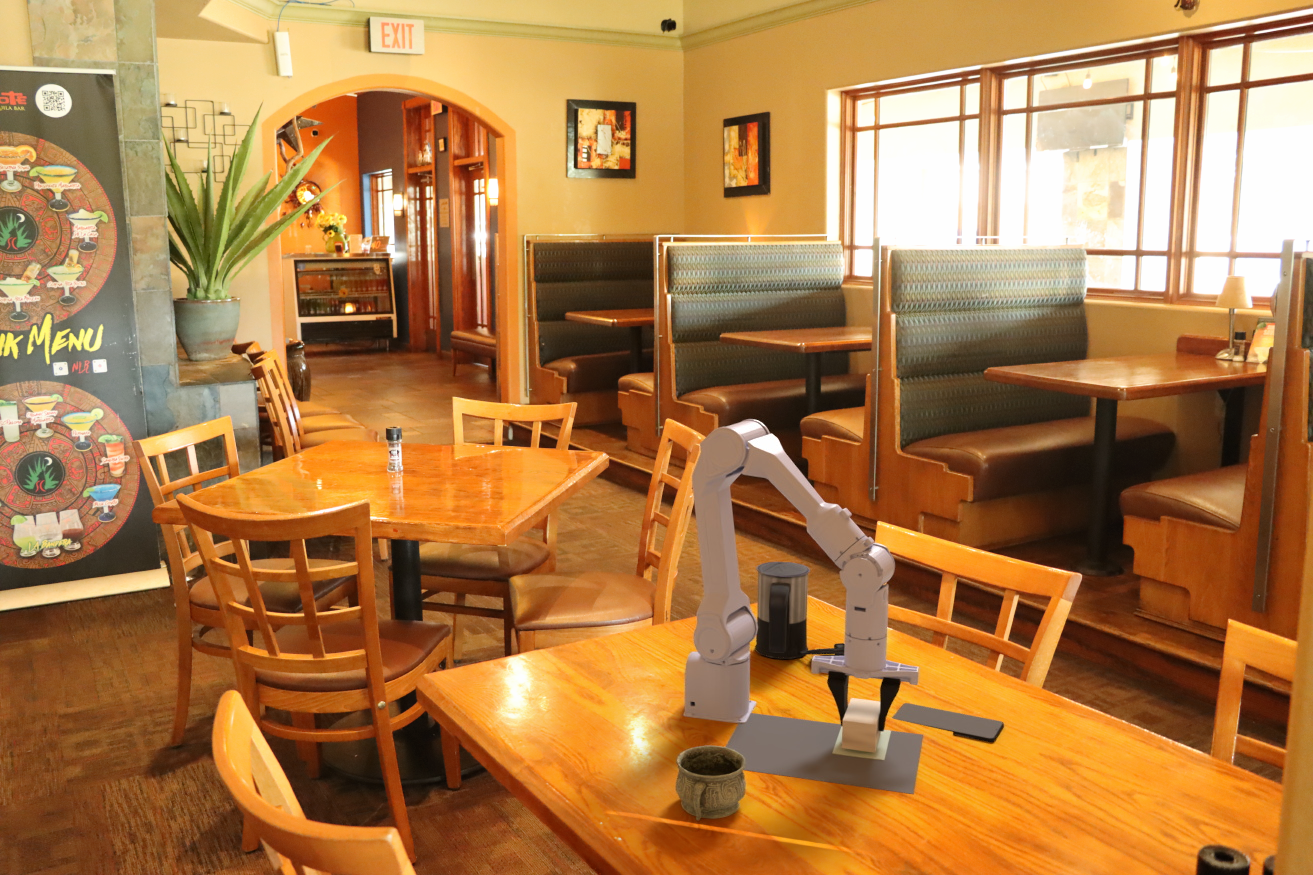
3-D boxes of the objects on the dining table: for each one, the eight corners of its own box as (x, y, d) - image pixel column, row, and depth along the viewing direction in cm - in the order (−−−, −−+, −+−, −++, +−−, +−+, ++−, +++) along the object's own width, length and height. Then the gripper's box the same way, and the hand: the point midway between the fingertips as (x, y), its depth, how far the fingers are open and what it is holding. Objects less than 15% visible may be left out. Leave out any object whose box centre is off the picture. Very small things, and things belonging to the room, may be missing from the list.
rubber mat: (714, 768, 147) (714, 764, 146) (744, 714, 163) (744, 711, 163) (913, 796, 139) (913, 792, 139) (923, 737, 156) (923, 733, 156)
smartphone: (904, 701, 167) (1004, 721, 160) (904, 707, 167) (1004, 727, 160) (890, 718, 161) (993, 739, 154) (889, 723, 161) (993, 745, 154)
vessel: (731, 837, 130) (732, 787, 128) (661, 824, 132) (661, 775, 131) (756, 790, 141) (757, 744, 140) (691, 779, 144) (691, 734, 143)
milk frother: (750, 641, 194) (751, 561, 191) (837, 638, 196) (839, 558, 193) (766, 672, 180) (767, 585, 177) (859, 668, 182) (862, 582, 179)
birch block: (850, 723, 158) (851, 697, 157) (881, 728, 156) (883, 701, 155) (841, 747, 150) (842, 720, 149) (874, 752, 149) (876, 724, 148)
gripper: (808, 637, 149) (806, 730, 151) (917, 648, 145) (913, 744, 147) (816, 620, 156) (814, 710, 158) (921, 631, 151) (917, 723, 154)
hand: (862, 725), depth 153 cm, fingers closed on birch block, 4 cm apart
